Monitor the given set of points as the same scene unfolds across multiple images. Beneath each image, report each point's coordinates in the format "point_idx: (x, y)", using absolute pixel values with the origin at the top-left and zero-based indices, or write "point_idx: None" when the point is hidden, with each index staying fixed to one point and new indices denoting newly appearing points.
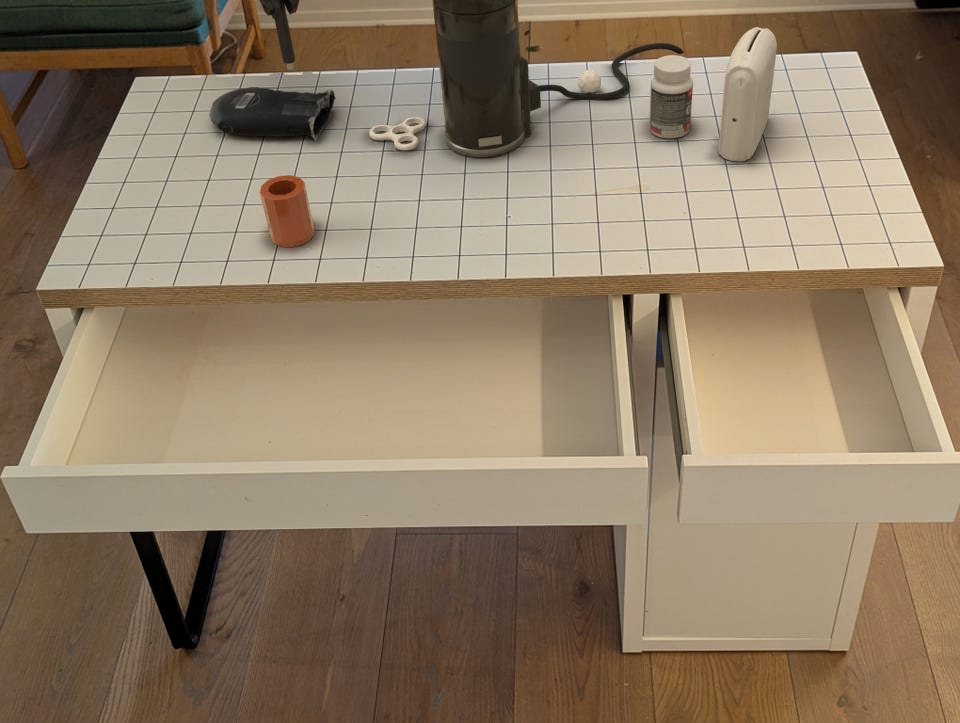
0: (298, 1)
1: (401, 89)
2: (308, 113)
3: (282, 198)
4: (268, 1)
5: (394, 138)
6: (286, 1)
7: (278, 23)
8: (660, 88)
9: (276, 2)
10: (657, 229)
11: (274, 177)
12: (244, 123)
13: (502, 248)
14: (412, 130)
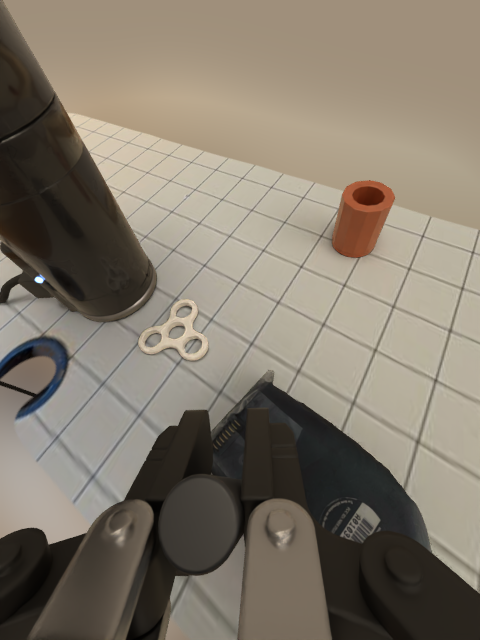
0: (172, 427)
1: (96, 452)
2: (263, 402)
3: (372, 181)
4: (278, 446)
5: (191, 319)
6: (203, 462)
7: None
8: None
9: (253, 420)
10: (127, 158)
11: (372, 212)
12: (369, 455)
13: (213, 174)
14: (165, 323)
